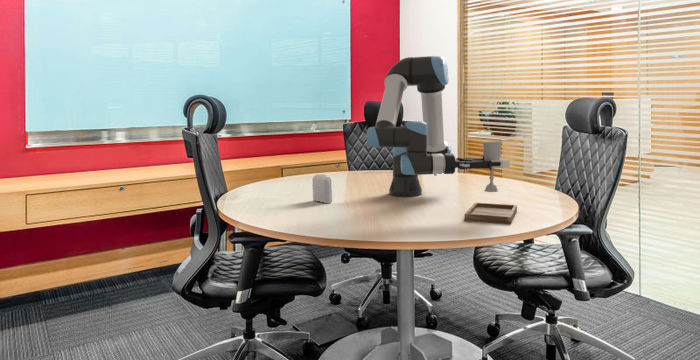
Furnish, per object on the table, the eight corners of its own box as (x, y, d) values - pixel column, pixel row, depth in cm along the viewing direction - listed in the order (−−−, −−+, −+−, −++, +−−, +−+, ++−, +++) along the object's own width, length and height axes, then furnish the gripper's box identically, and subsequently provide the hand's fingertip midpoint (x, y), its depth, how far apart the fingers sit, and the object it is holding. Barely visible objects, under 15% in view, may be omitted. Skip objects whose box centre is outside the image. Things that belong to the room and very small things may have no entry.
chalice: (486, 193, 183) (487, 143, 181) (478, 189, 190) (478, 142, 187) (504, 191, 185) (506, 142, 182) (496, 188, 191) (497, 141, 189)
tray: (474, 208, 202) (475, 202, 202) (516, 211, 196) (517, 205, 195) (464, 220, 182) (464, 214, 182) (510, 223, 176) (510, 217, 175)
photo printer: (311, 201, 225) (310, 173, 223) (319, 199, 228) (318, 172, 226) (325, 204, 217) (324, 175, 215) (333, 202, 220) (332, 174, 218)
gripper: (438, 170, 195) (497, 169, 196) (448, 177, 177) (514, 176, 177) (438, 151, 194) (498, 149, 194) (448, 156, 176) (515, 154, 176)
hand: (505, 162), depth 186 cm, fingers closed on chalice, 6 cm apart
